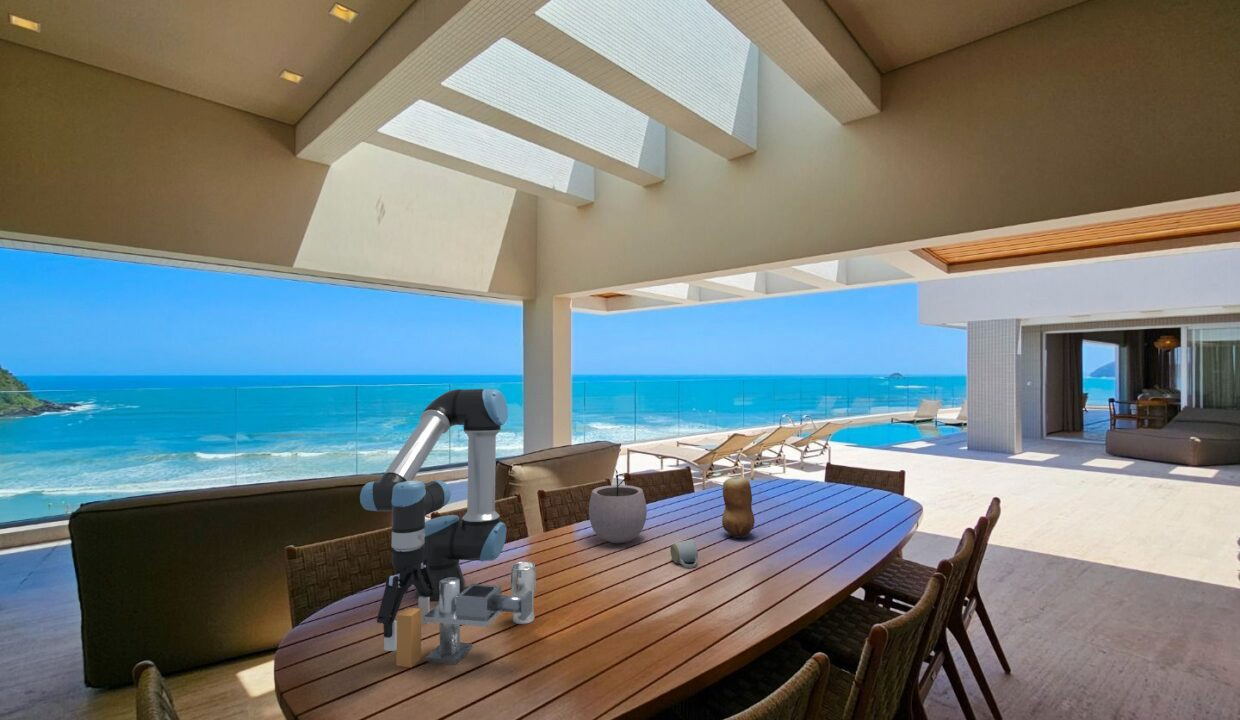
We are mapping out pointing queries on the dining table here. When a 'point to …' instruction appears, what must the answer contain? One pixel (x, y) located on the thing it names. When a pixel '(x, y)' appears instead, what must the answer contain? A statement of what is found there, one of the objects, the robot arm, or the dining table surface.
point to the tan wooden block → (408, 637)
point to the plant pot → (617, 512)
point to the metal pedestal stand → (451, 624)
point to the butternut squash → (737, 507)
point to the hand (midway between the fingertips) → (408, 636)
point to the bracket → (490, 602)
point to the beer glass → (523, 586)
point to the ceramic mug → (684, 553)
